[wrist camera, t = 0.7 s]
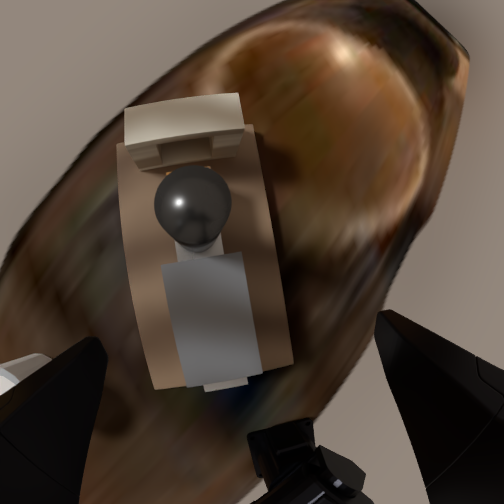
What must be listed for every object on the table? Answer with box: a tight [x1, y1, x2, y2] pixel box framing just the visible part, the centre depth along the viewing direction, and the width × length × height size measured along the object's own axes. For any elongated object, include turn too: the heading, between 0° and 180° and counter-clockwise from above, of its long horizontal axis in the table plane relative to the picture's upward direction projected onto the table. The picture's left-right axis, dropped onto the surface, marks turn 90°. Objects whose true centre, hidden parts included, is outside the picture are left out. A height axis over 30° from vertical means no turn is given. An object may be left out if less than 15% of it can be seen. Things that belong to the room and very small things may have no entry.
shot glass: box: [0, 353, 52, 395], centre depth 16 cm, size 7×7×7 cm
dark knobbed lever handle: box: [154, 165, 248, 392], centre depth 15 cm, size 15×3×11 cm, turn 10°
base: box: [117, 93, 294, 390], centre depth 20 cm, size 21×12×6 cm, turn 10°
